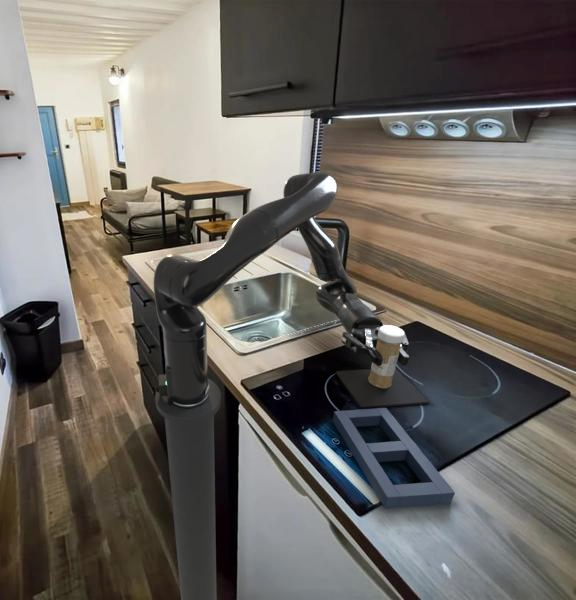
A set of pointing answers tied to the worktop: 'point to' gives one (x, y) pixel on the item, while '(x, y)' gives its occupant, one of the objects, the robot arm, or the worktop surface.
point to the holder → (398, 449)
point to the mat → (380, 390)
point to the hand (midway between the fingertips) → (392, 361)
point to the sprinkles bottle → (386, 355)
